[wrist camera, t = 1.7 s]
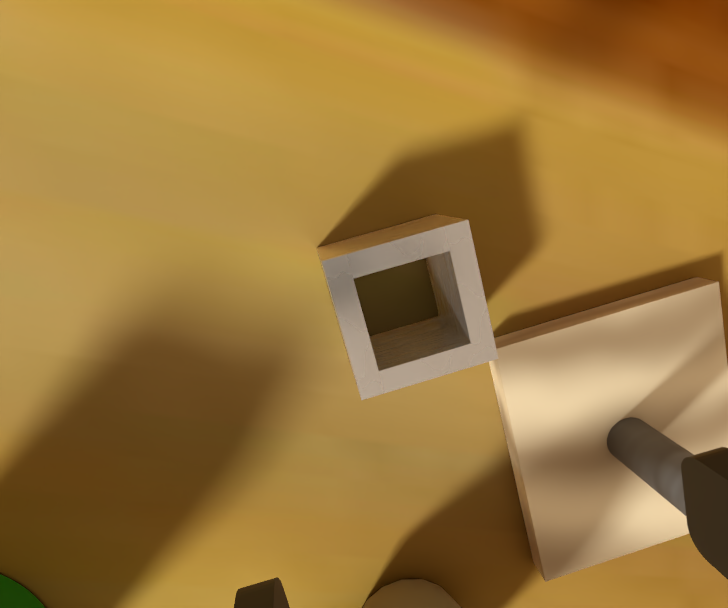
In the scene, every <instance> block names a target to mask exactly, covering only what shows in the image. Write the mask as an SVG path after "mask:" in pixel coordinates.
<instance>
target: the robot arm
mask: <svg viewBox="0 0 728 608" xmlns="http://www.w3.org/2000/svg"><path fill="white" fill-rule="evenodd" d="M681 473H682V482H683V491H684V500H685V509H686V518H687V526H688V530H689V533H690V536H691V538H692V540H693V542H694V544H695V546H696V547H697V549H698V550H699V552H700V553H701V554H702V556H703V557H704V558H705V559H706V560H707V561H708V562H709V563H710V564H711V565H712V566H714V567H715V568H716V569H717V570H718V571H719V572H720V573H721V574H722V575H724V576H725V577H726V578H727V579H728V448H726V447H720V448H716V449H713V450H709V451H706V452H703V453H699V454H696V455H693V456H689V457H686V458H684V459H683V461H682V463H681ZM234 608H290V607H289V604H288V601H287V598H286V595H285V592H284V589H283V586H282V583H281V581H280V579H279V578H274V579H270V580H267V581H264V582H260V583H257V584H254V585H250V586H247V587H243V588H240V589H238V591H237V593H236V598H235V604H234Z"/></svg>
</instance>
